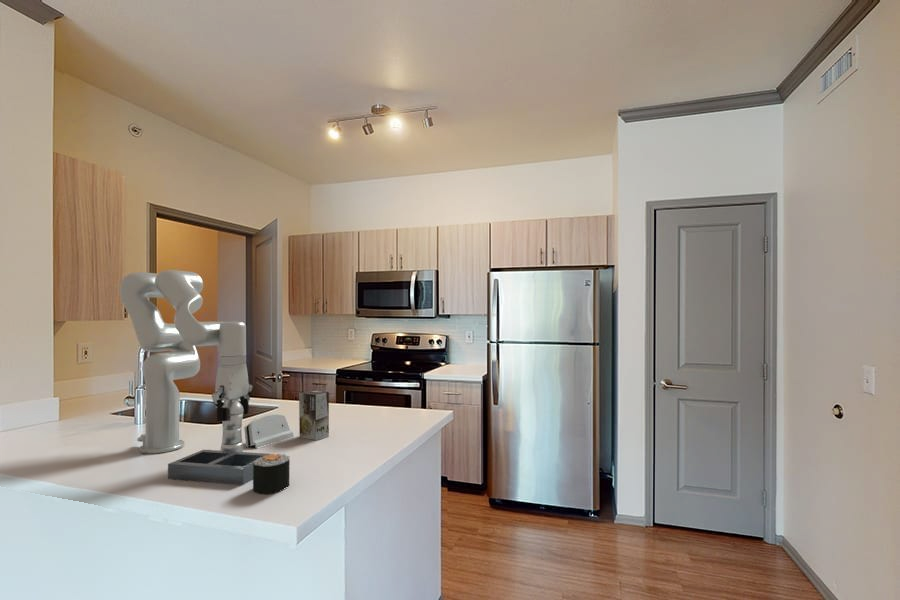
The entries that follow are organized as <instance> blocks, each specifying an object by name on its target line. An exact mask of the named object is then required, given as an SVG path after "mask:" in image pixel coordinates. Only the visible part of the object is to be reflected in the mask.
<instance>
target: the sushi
mask: <svg viewBox="0 0 900 600" xmlns="http://www.w3.org/2000/svg"><path fill="white" fill-rule="evenodd" d="M269 454H270V455H267V456H266V455H265V457H262V458H261V457H260V458H259V459H258V458H257V460H256V461H254V462H253V479H252V485H253V486H252V491H253V492H254V493H256V494H262V495H272V494H276V493H275V492H277V493H279V492H278V491H280V490H282V489H284V488H286V487H288V486H289V487H290V465H291V464H290V455H287V454H285V453H282V454H280V453H269ZM289 487H288V488H289ZM286 489H287V488H286ZM284 490H285V489H284ZM282 491H283V490H282ZM280 492H281V491H280ZM271 493H272V494H271Z"/></svg>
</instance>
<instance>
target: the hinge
mask: <svg viewBox="0 0 900 600" xmlns="http://www.w3.org/2000/svg"><path fill="white" fill-rule="evenodd" d="M243 429H244V436H245V446H250V447H253V446H254V447H255V449H256V448H258V447H261V446H264V445H267V446H269V445H268V444H270V445H272V444H271V443H273V444H275V443H274V442H277V443H279V442H278V441H280V442H282V441H281V440H283V441H285V440H284V439H286V440H289V439H292V438H294V433H293V431H292V430H291V429H290V426H289V423H288V421H287V418H286V416H285V415H282V414H268V415H264V416H263V415H262V416H261V417H258V418H255V419H253V420H252V421H250V422H249V423H248V424H246V425H245V426H244V428H243ZM291 437H292V438H291ZM288 438H289V439H288ZM264 447H265V446H264ZM261 448H262V447H261ZM258 449H259V448H258Z"/></svg>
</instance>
